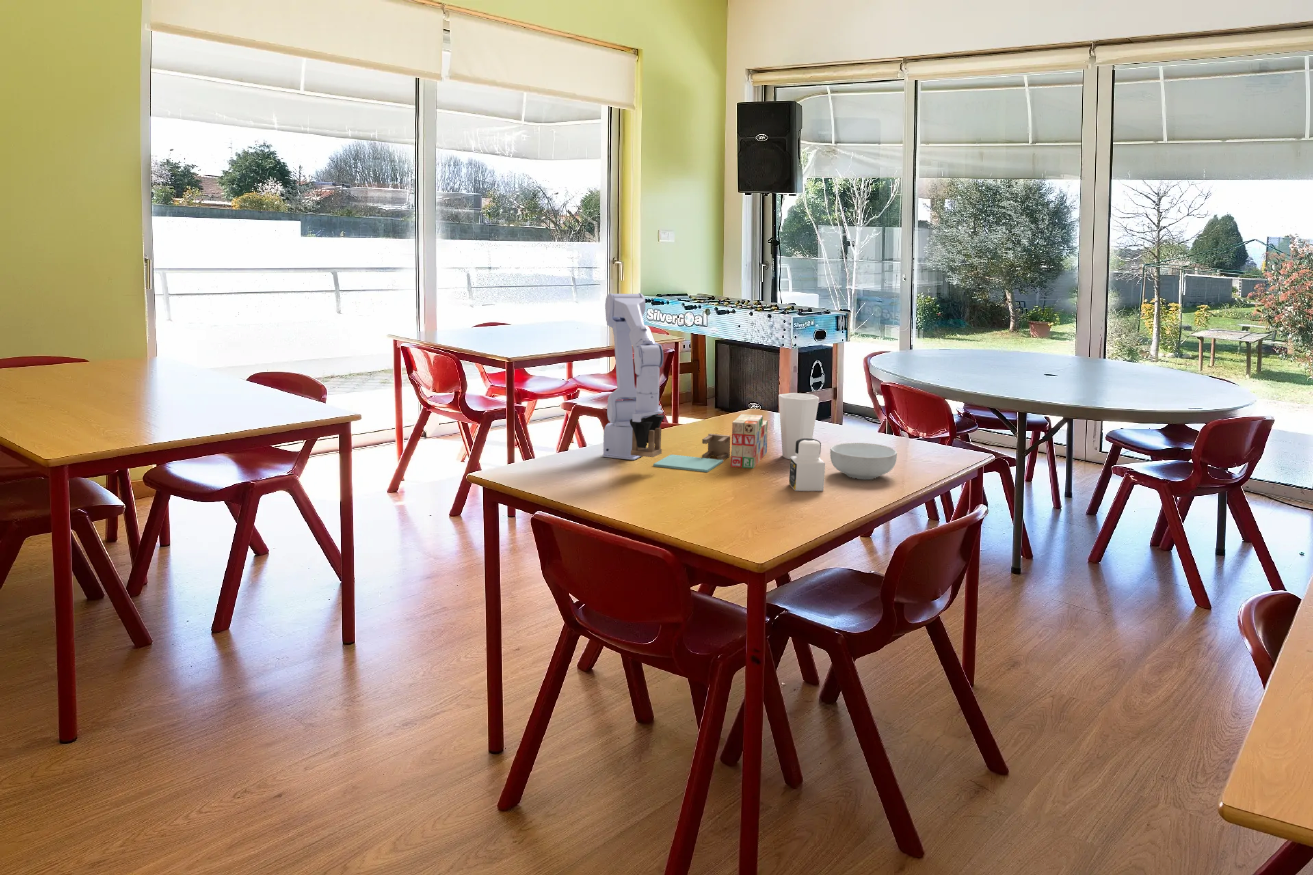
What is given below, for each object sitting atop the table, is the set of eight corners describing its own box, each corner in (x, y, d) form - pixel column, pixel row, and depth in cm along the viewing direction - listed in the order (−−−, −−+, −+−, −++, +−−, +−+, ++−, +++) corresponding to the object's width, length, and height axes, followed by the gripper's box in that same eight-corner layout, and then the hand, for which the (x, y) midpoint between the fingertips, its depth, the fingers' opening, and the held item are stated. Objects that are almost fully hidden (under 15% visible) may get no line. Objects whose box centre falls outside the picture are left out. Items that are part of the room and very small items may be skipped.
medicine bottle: (788, 484, 261) (790, 436, 259) (817, 484, 262) (819, 436, 259) (794, 491, 254) (797, 442, 252) (823, 491, 255) (826, 442, 252)
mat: (653, 466, 277) (653, 463, 277) (671, 456, 289) (671, 454, 289) (707, 472, 272) (707, 469, 271) (723, 462, 283) (723, 460, 283)
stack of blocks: (745, 451, 299) (746, 408, 296) (767, 452, 297) (769, 409, 295) (730, 467, 279) (732, 421, 276) (753, 469, 277) (755, 422, 275)
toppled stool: (701, 438, 285) (709, 433, 291) (701, 459, 286) (709, 454, 292) (722, 440, 283) (730, 435, 289) (722, 462, 284) (729, 456, 290)
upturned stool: (630, 454, 267) (631, 429, 266) (639, 451, 273) (640, 426, 271) (652, 457, 265) (653, 431, 264) (661, 453, 270) (662, 428, 269)
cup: (771, 458, 289) (773, 397, 286) (781, 451, 298) (783, 392, 295) (811, 462, 285) (814, 400, 282) (820, 455, 294) (823, 395, 291)
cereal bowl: (816, 471, 276) (818, 444, 275) (870, 466, 282) (871, 440, 281) (853, 486, 261) (854, 458, 259) (908, 481, 267) (910, 453, 266)
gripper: (651, 397, 258) (650, 452, 260) (672, 389, 271) (671, 441, 274) (625, 395, 260) (624, 449, 263) (647, 387, 273) (646, 438, 276)
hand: (646, 445), depth 268 cm, fingers closed on upturned stool, 5 cm apart
